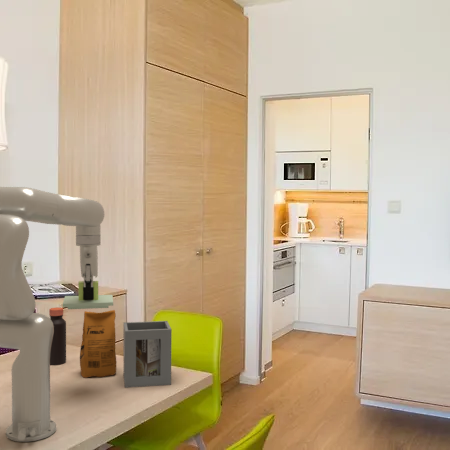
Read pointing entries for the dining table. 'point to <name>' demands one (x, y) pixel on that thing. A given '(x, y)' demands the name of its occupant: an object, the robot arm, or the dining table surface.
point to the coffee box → (147, 357)
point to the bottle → (58, 337)
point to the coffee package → (98, 344)
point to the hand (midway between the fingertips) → (88, 298)
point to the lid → (97, 302)
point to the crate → (132, 334)
